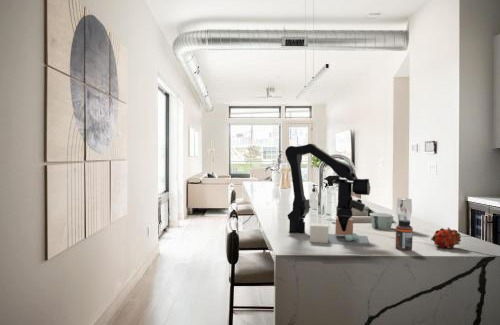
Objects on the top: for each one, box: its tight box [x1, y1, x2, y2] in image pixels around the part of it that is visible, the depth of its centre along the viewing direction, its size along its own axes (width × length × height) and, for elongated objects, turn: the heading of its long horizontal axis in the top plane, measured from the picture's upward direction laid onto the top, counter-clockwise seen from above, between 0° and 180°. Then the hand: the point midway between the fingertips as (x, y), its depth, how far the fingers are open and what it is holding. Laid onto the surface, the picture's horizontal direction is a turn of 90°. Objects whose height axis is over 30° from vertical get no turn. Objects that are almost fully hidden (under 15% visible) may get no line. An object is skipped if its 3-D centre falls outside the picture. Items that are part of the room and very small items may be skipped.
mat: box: [308, 233, 371, 247], centre depth 173 cm, size 24×21×1 cm
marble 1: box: [345, 234, 353, 241], centre depth 169 cm, size 3×3×3 cm
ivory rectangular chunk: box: [309, 222, 330, 244], centre depth 169 cm, size 7×7×6 cm
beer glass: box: [396, 197, 413, 226], centre depth 201 cm, size 7×7×15 cm
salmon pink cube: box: [334, 216, 354, 235], centre depth 178 cm, size 7×7×6 cm
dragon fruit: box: [431, 227, 462, 249], centre depth 162 cm, size 8×8×12 cm
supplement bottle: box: [395, 220, 414, 252], centre depth 157 cm, size 6×6×11 cm
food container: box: [369, 212, 395, 230], centre depth 207 cm, size 12×12×6 cm
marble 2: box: [352, 232, 359, 241], centre depth 171 cm, size 3×3×3 cm
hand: (343, 229), depth 178 cm, fingers closed on salmon pink cube, 7 cm apart
